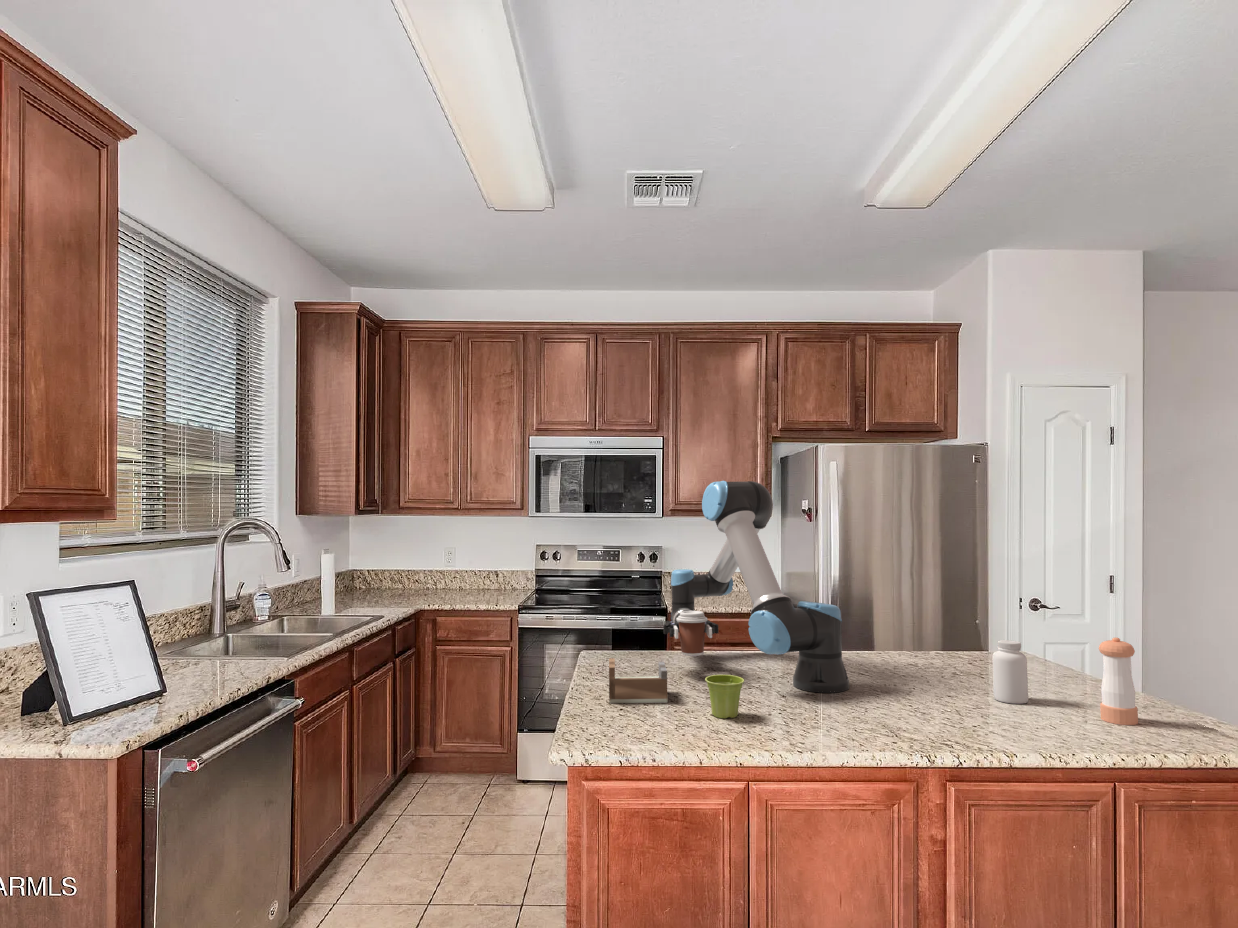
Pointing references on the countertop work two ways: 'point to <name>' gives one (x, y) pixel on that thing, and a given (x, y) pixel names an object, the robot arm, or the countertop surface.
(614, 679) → the shelf
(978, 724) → the countertop surface
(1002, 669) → the pill bottle
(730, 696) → the plant pot
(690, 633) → the coffee cup
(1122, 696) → the pepper shaker
